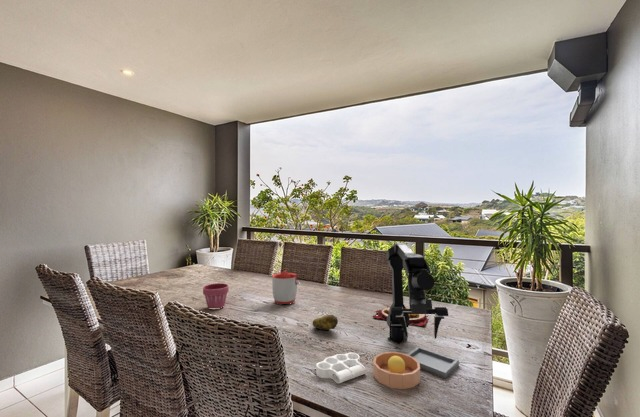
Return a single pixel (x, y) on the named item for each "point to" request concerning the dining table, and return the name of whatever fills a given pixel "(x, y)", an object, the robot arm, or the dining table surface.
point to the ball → (396, 365)
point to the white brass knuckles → (341, 367)
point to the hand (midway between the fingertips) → (421, 338)
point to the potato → (325, 322)
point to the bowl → (394, 379)
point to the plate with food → (413, 317)
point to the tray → (434, 362)
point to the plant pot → (215, 294)
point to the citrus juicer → (284, 287)
